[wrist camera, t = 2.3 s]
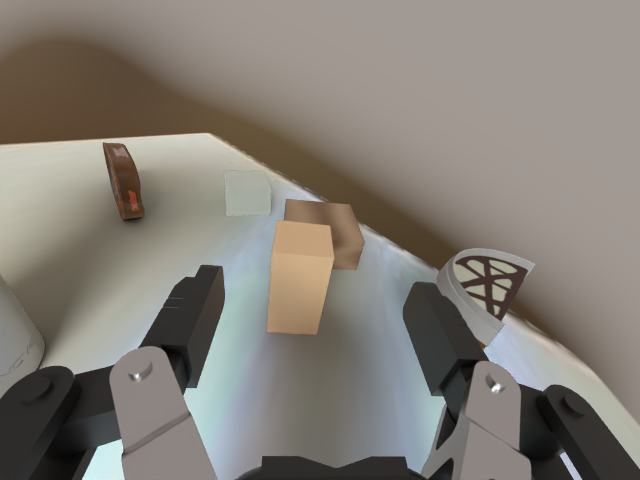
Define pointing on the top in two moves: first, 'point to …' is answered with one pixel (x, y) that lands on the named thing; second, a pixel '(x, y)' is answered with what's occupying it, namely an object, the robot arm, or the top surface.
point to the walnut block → (341, 225)
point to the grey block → (247, 193)
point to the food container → (483, 288)
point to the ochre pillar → (299, 277)
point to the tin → (124, 180)
